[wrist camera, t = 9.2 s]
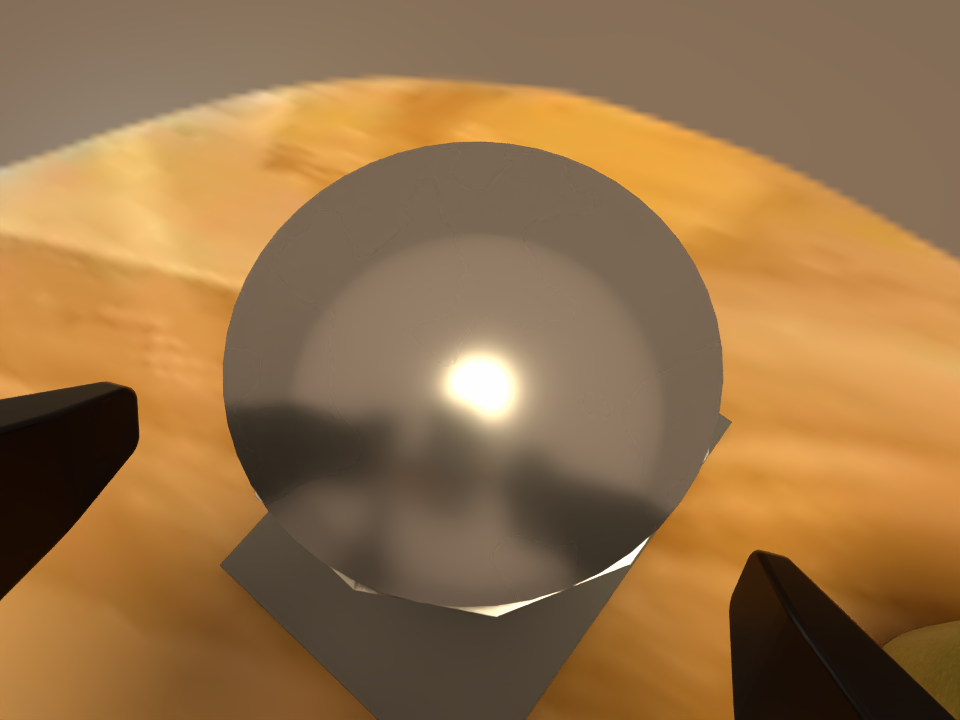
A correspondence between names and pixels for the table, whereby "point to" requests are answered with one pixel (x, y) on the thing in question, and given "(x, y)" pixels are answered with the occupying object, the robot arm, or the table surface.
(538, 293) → the brushed metal canister
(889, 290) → the table surface
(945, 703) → the plant pot
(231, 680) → the table surface
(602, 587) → the charcoal mat
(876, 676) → the robot arm
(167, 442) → the table surface
